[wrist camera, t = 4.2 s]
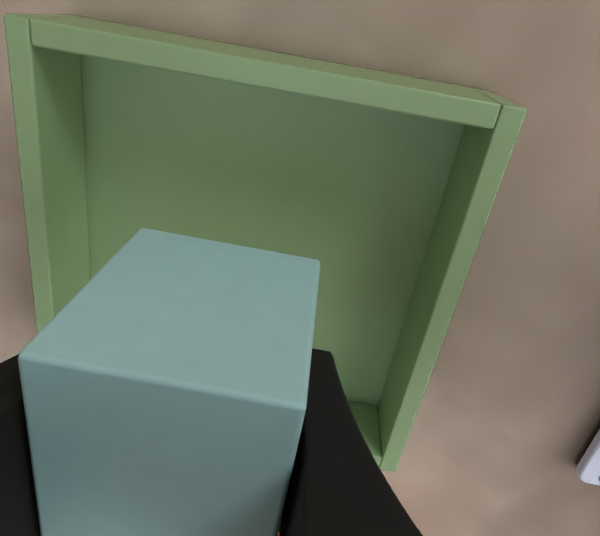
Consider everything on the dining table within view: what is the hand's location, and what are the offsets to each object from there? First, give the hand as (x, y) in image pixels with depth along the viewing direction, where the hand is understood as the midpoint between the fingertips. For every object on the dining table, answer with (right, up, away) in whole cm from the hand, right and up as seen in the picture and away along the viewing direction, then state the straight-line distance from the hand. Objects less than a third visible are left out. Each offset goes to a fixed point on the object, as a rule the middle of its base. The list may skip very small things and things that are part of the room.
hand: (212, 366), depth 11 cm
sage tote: (0, +3, +6) cm, 6 cm away
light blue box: (0, 0, +1) cm, 1 cm away
